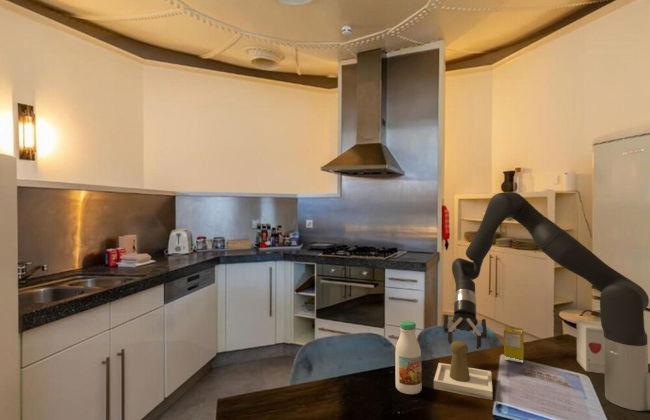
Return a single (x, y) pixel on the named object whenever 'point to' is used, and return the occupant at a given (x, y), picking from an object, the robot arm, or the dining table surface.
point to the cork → (459, 362)
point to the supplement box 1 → (513, 343)
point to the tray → (474, 387)
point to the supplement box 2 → (590, 346)
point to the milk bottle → (408, 360)
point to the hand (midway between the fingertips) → (464, 345)
